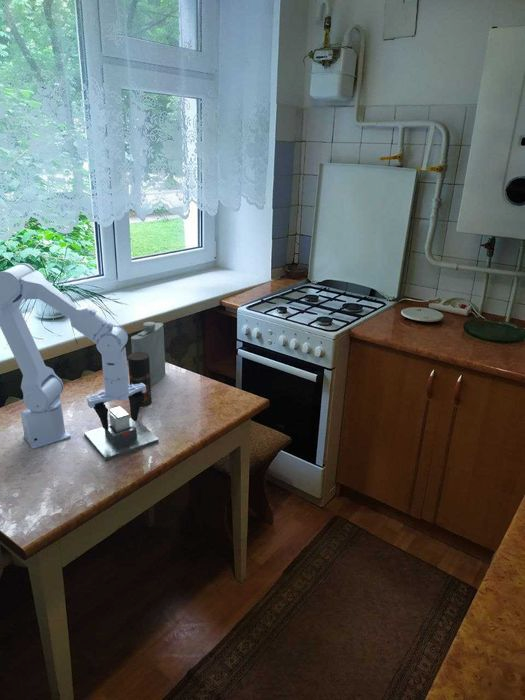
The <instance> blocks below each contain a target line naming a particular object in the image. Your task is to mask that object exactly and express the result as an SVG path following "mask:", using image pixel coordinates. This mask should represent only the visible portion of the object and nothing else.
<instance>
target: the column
mask: <svg viewBox="0 0 525 700" xmlns="http://www.w3.org/2000/svg"><path fill="white" fill-rule="evenodd" d="M108 411H109V412H108V415H109V421H110V422H109V424H110V425H111V429H112V430H113V432H114V433H115V434H117V433H120V432H123V431H126V430H129V429H130V422H129V418H130V414H129V413H128V412H127V411H126V410H125V409H124V408H122V407H121V406H117V407H113V408H110V409H109V408H108Z"/></svg>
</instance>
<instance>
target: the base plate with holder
mask: <svg viewBox="0 0 525 700" xmlns="http://www.w3.org/2000/svg"><path fill="white" fill-rule="evenodd" d="M129 422H130V429H129V430H126V431H123V432H120V433H117V434H115V433H114V432H113V430H112V429H111V425H110V423H108V426H109V429H108V430H105V429H104V428H103V426H101V427H97V428H95V429H90V430H87V431H84V433H83V434H84V437H85V439H87V441H88V442H89V443H90V444H91V445H92V447H93V448H94V449H95V450H96V451H97V453H98V454H99V455H100V456H101V457H102V458H103V459H104V461H105V462H108V461H111V460H113V459H116V458H119V457H122V456H125V455H128V454H131V453H134V452H136V451H138V450H142V449H145V448H148V447H150V446H153V445H156V444H158V443H159V441H160V440H159V438H158V437H157V436H156V435H155V434H154V433H152V432H151V430H150V429H148V428H147V426H145V425H144V424H143V423H142V422H141V421H140V420H138V419H137V421H134V420H133V419H132V418H131V417H129Z"/></svg>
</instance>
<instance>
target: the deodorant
mask: <svg viewBox="0 0 525 700" xmlns="http://www.w3.org/2000/svg"><path fill="white" fill-rule="evenodd" d="M127 368H128V381H129V385H134V384H140V383H143V384H144V385H146V392H145V393H142V394H143V395H144V401H143V403H142V404H141V407H142V408H146V407H149V406H151V405H152V401H153V398H152V397H153V396H152V387H151V379H150V362H149V354H148V353H145V352H135V353H132V352H131V353H130V354H128V355H127ZM141 407H140V408H141ZM142 408H141V409H142Z"/></svg>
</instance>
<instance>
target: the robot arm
mask: <svg viewBox="0 0 525 700" xmlns="http://www.w3.org/2000/svg"><path fill="white" fill-rule="evenodd" d="M23 300H40V301H41V302H43V303H45V304H46V305H48V306H49V307H51V308H53V309H54V310H55V311H57V312H59V313H60V314H62V315H63V316H65V317H67V318H68V319H69V322H70V325H71V327H72V328H74V329H75V330H76V331H78V332H79V333H80V334H82V335H83V336H84V337H86V338H87V339H88V340H90V341H91V342H93V343H94V344H96V345H95V347H96V349H97V351H98V352H99V353H100V354H101V362H102V365H101V366H102V373H103V374H102V375H103V383H104V384H103V385H104V390H103V391H101V392H99V393H97V394H94V395H93V396H90V397H87V398H86V401H87V402H86V403H87V406H88V407H89V408H91V409H92V408H93V409H94V411H95V412H96V415H97V416H98V419H99V420H100V422H101V425H102V426H101V427H103V428H104V429H105V430H108V429H109V426H108V425H109V420H108V418H109V417H108V415H109V408H107V406H106V404H107V403H109V402H112V401H120V402H122V401H123V402H124V401H126V400H128V401H129V402H128V403H129V409H130V410H129V411H130V414H129V415H130V418H132V419H133V420H134V421H137V420H138V418H139V417H138V416H139V412H140V407H141V404H142V403H143V401H144V395H143V394H142V393H145V392H146V385H144V384H143V383H140V384H134V385H130V382H129V368H128V356H127V351H126V344H127V342H128V340H129V335H128V332H127V331H126V329H124V327H123V326H122V325H119V324H113V323H112V322H108V321H107V320H105V319H104V318H103V317H102V316H100V315H99V314H97V310H96V309H94V308H90V307H88V306H78V305H77V304H76V303H74V302H73V301H72V300H71V299H70V298H69V297H67V296H66V295H65V294H64V293H63V292H61V291H60V290H59V289H58V288H57V287H55V286H54V285H53V284H52V283H50V282H49V280H47V278H45V276H44V275H43V273H42V272H41V271H38V270H36V269H35V268H34V267H33V266H32V265H30V264H28V263H24V262H20V263H17V264H15V265H14V266H12V267H9V268H7V269H5V270H2V271H0V329H1V333H3V336H4V339H5V341H6V343H7V345H8V347H9V348H10V349H9V350H10V351H11V353H12V355H13V357H14V359H15V361H16V363H17V365H18V368H19V369H20V372H21V374H22V379H21V383H20V389H21V391H22V395H23V397H22V401H23V404H24V406H25V407H26V408H25V409H23V410H21V411H20V418H21V423H22V424H21V425H22V429H23V436H24V438H25V440H26V441H27V443H28V444H29V446H30V448H31V449H32V450H33V449H38V448H41V447H44V446H48V445H50V444H54V443H57V442H60V441H62V440H63V441H64V440H66V439H67V440H68V439H70V438H71V436H72V435H71V433H70V432H69V431H68V430H67V429H66V428H65V421H64V414H63V406H62V400H61V394H62V393H63V391H64V388H65V387H64V382H63V380H62V379H61V378H60V377H59V376H58V375H57V373H55V371H54V369H53V368H51V367H49V366H47V365H46V364H45V362H44V359H43V357H42V356H41V352H40V351H39V349H38V346H37V344H36V342H35V340H34V337H33V336H32V333H31V331H30V328H29V327H28V326H29V325H28V324H27V322H26V320H25V318H24V315H23V313H22V310H21V309H20V306H21V304H22V302H23ZM105 403H106V404H105Z"/></svg>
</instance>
